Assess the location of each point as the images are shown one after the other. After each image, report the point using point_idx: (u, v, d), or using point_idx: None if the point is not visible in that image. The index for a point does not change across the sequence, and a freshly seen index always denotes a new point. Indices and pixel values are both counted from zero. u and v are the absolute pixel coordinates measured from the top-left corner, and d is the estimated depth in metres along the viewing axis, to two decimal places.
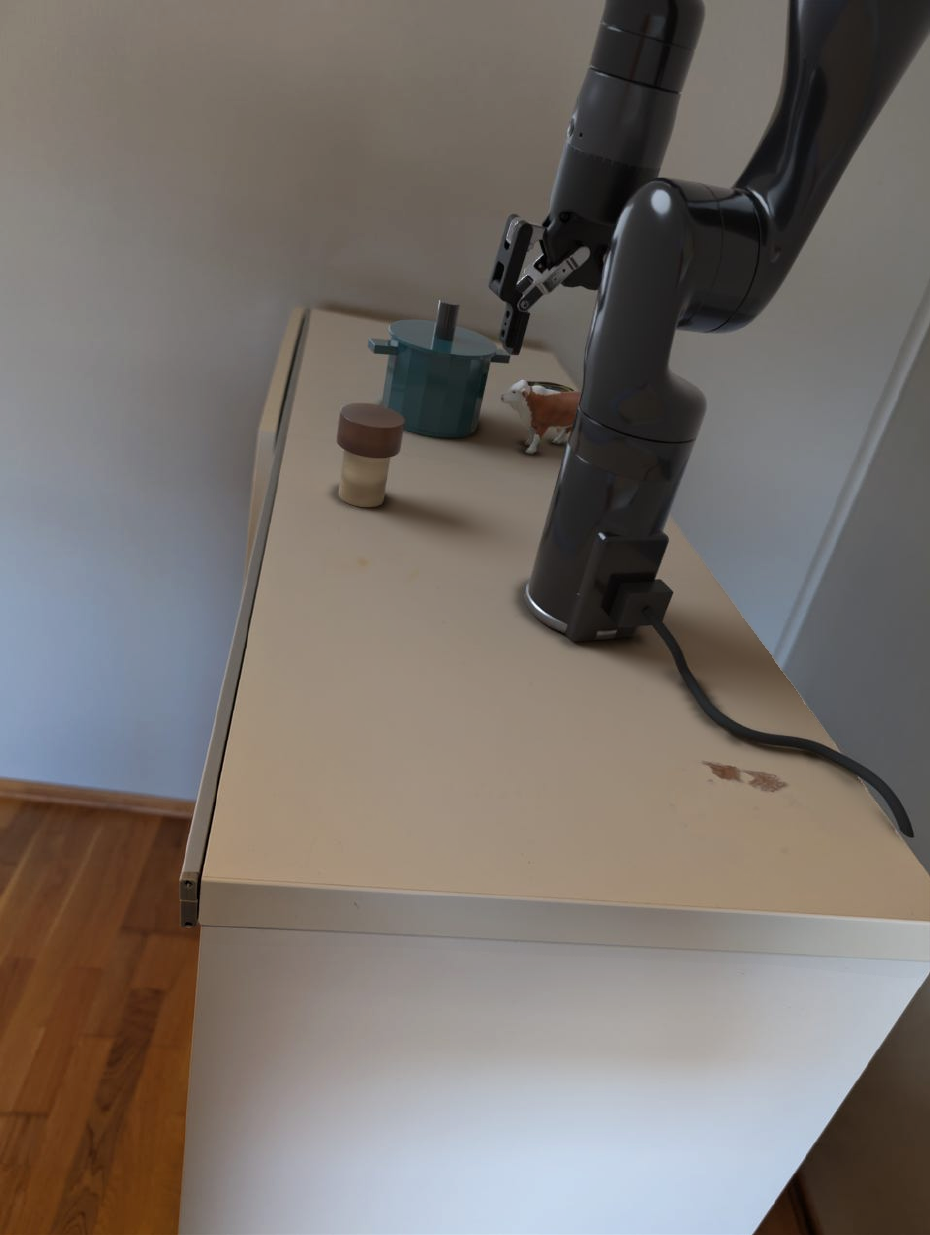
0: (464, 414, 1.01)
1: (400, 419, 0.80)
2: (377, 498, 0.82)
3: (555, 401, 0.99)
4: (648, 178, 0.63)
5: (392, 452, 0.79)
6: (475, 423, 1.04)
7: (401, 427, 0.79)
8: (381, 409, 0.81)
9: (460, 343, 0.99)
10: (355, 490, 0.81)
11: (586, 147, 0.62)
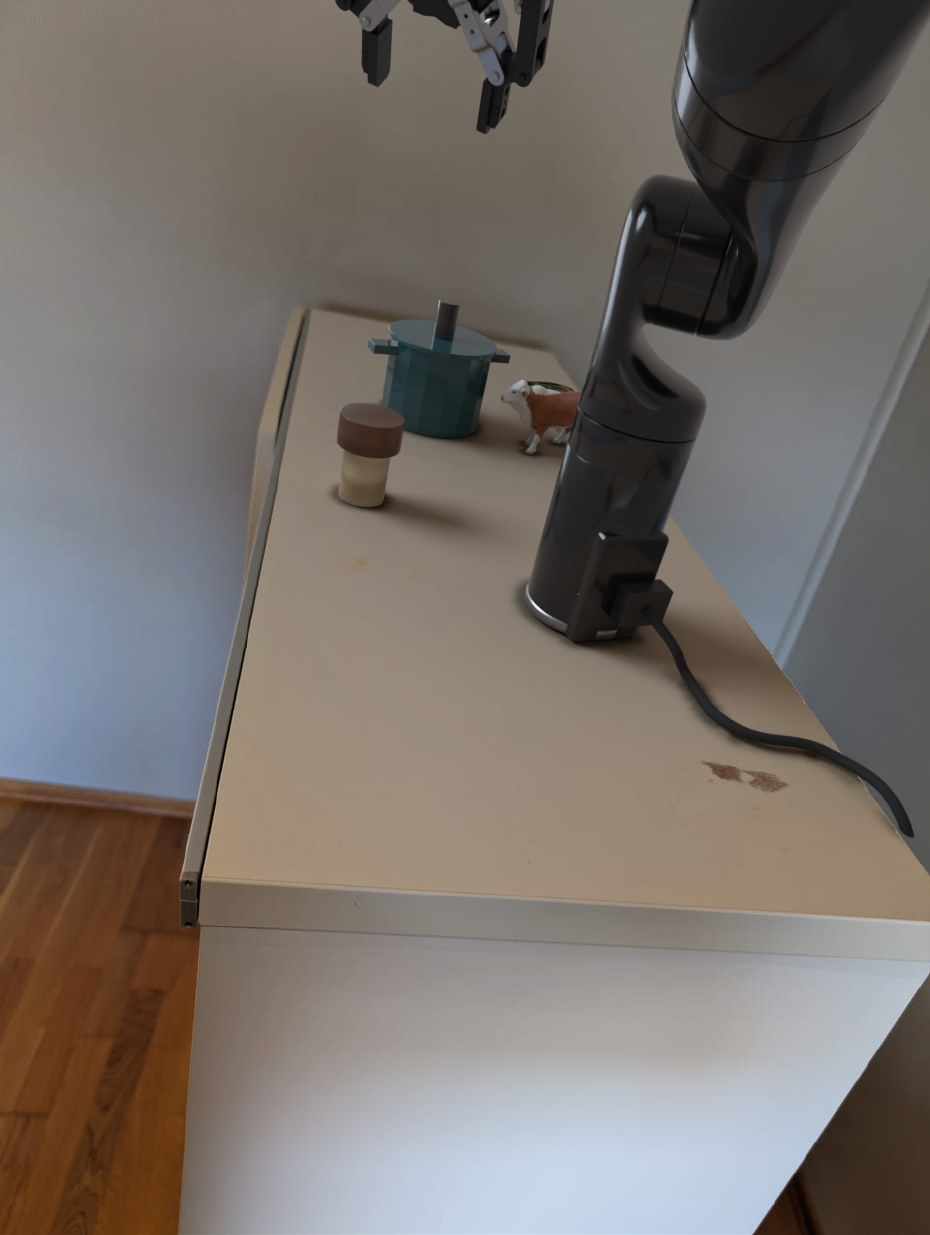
0: (464, 414, 1.01)
1: (400, 419, 0.80)
2: (377, 498, 0.82)
3: (555, 401, 0.99)
4: None
5: (392, 452, 0.79)
6: (475, 423, 1.04)
7: (401, 427, 0.79)
8: (381, 409, 0.81)
9: (460, 343, 0.99)
10: (355, 490, 0.81)
11: None
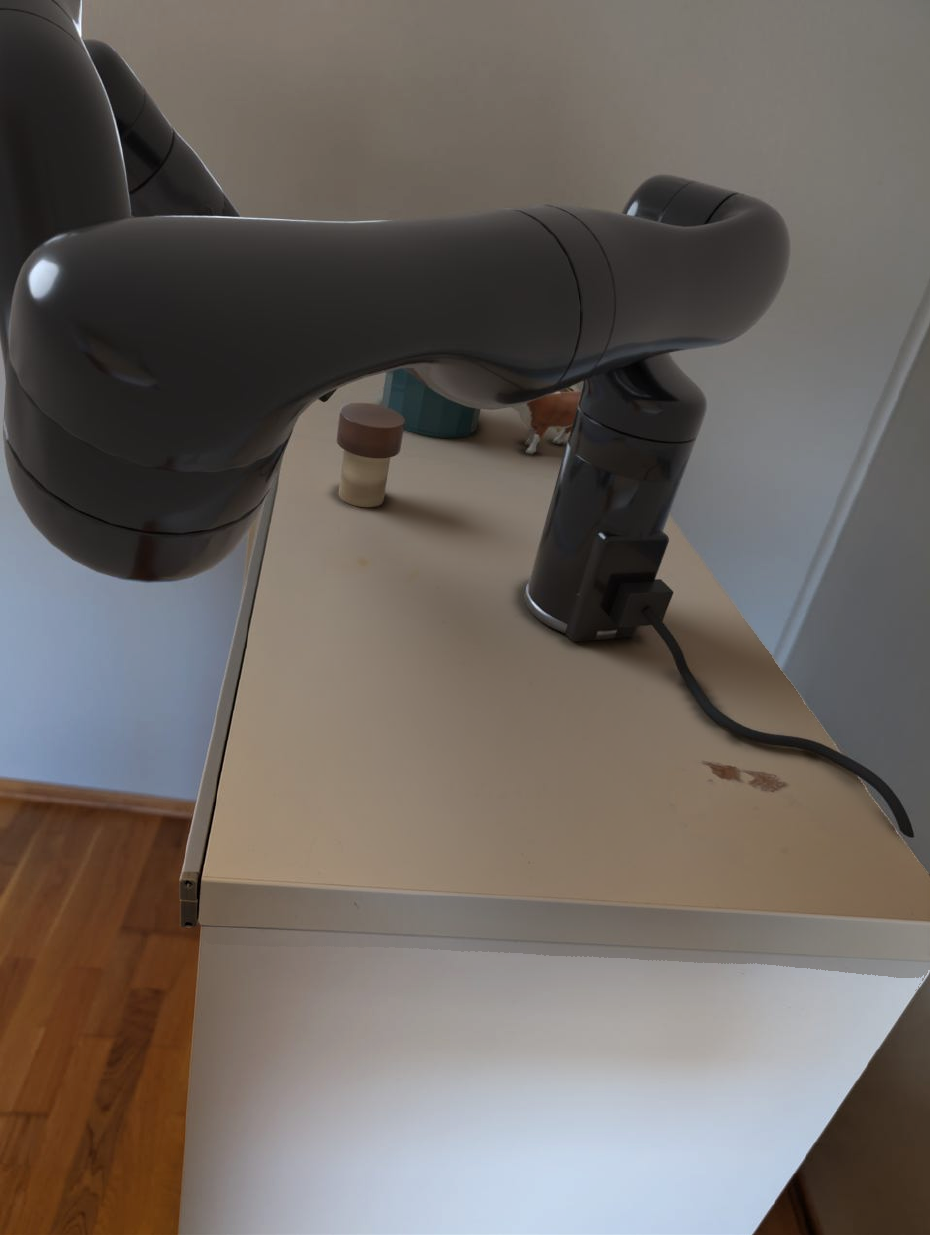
0: (464, 414, 1.01)
1: (400, 419, 0.80)
2: (377, 498, 0.82)
3: (555, 401, 0.99)
4: None
5: (392, 452, 0.79)
6: (475, 423, 1.04)
7: (401, 427, 0.79)
8: (381, 409, 0.81)
9: None
10: (355, 490, 0.81)
11: None
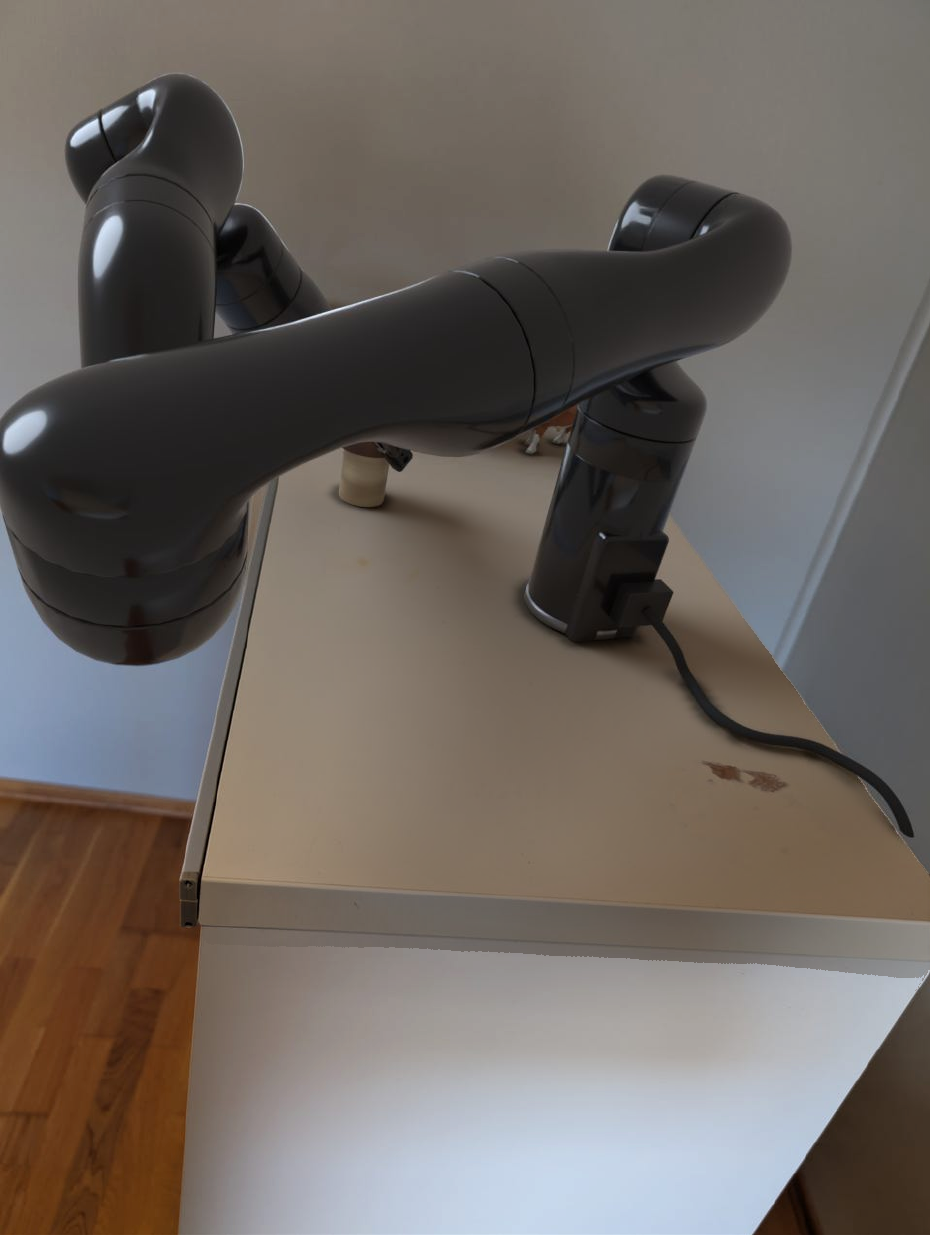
0: None
1: None
2: (377, 498, 0.82)
3: None
4: None
5: None
6: None
7: None
8: None
9: None
10: (355, 490, 0.81)
11: None
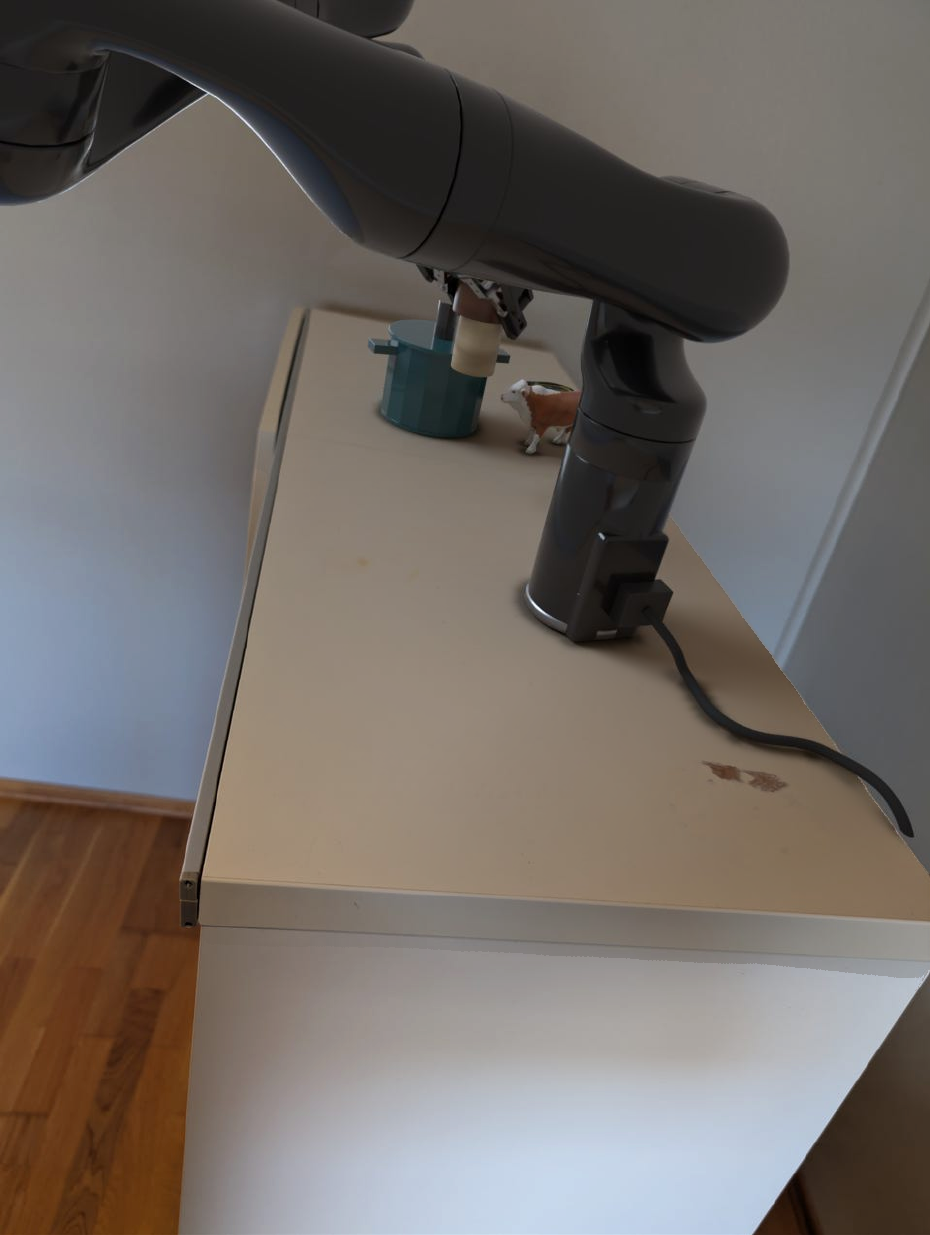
0: (464, 414, 1.01)
1: None
2: (489, 368, 0.85)
3: (555, 401, 0.99)
4: None
5: None
6: (475, 423, 1.04)
7: None
8: None
9: None
10: (470, 359, 0.84)
11: None
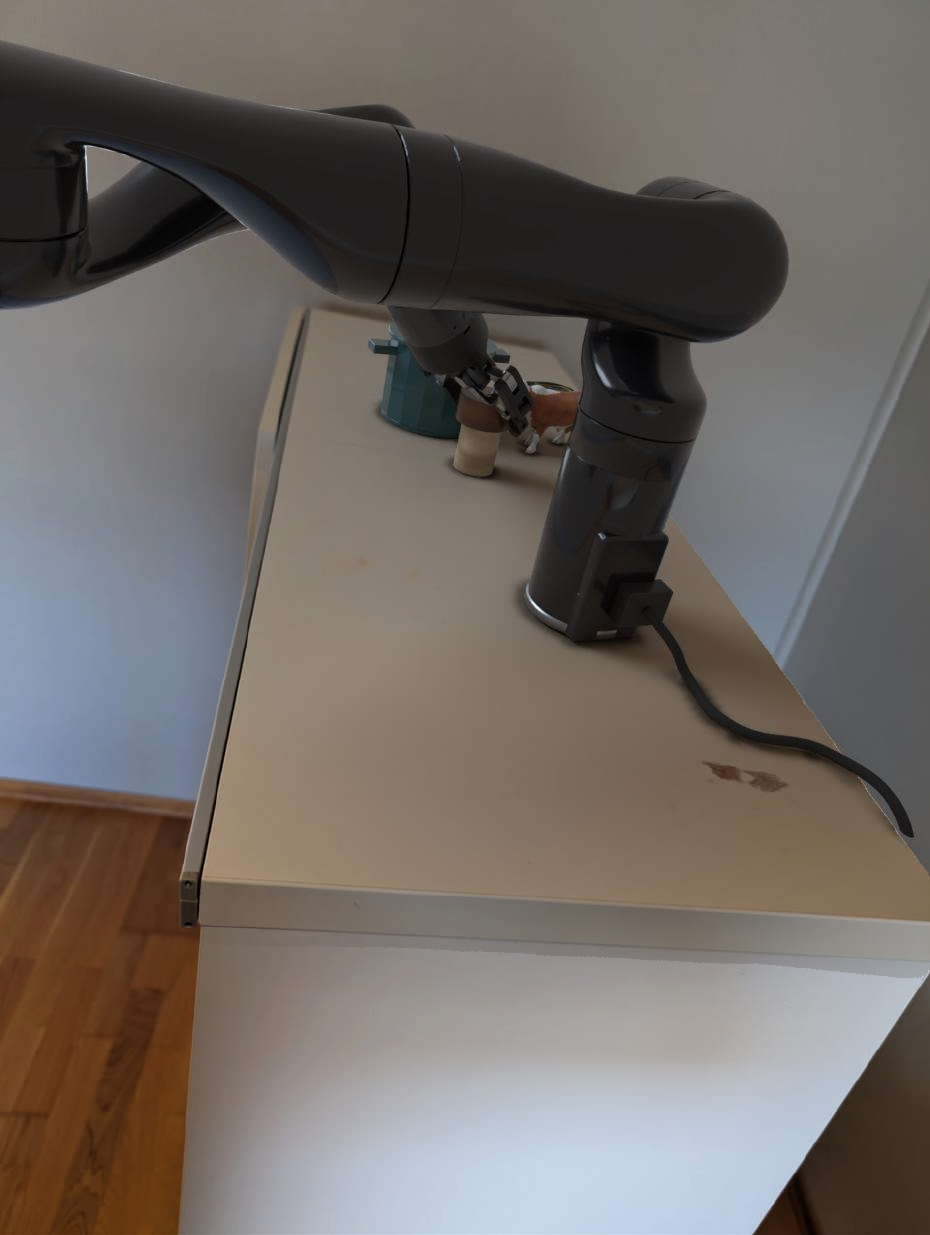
0: None
1: None
2: (489, 468, 0.94)
3: (555, 401, 0.99)
4: (426, 352, 0.79)
5: (505, 427, 0.91)
6: None
7: None
8: None
9: None
10: (471, 461, 0.92)
11: None
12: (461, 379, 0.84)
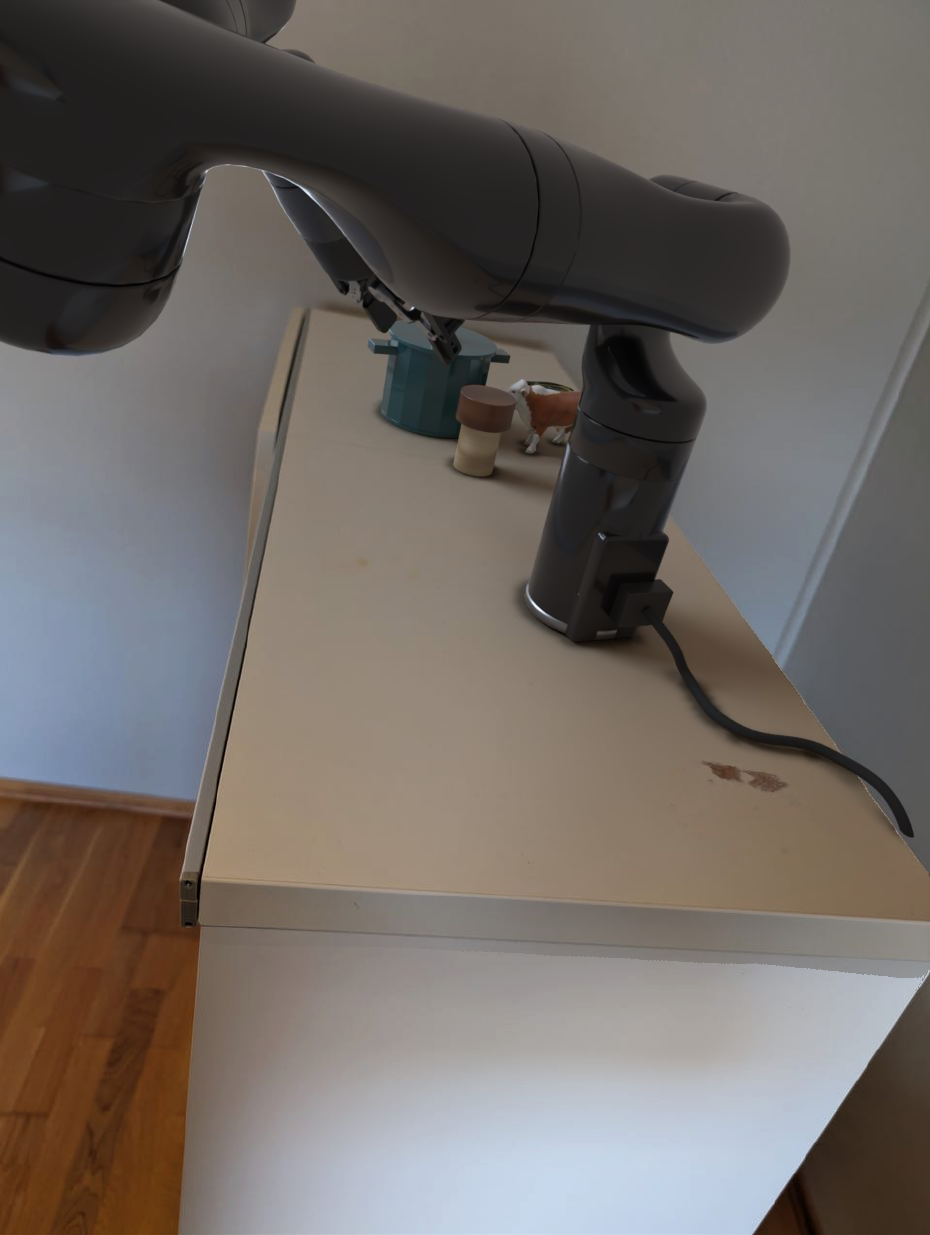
0: None
1: (512, 398, 0.91)
2: (489, 468, 0.94)
3: (555, 401, 0.99)
4: (326, 249, 0.65)
5: (505, 427, 0.91)
6: None
7: (514, 405, 0.90)
8: (493, 390, 0.92)
9: (460, 343, 0.99)
10: (471, 461, 0.92)
11: None
12: (375, 288, 0.70)
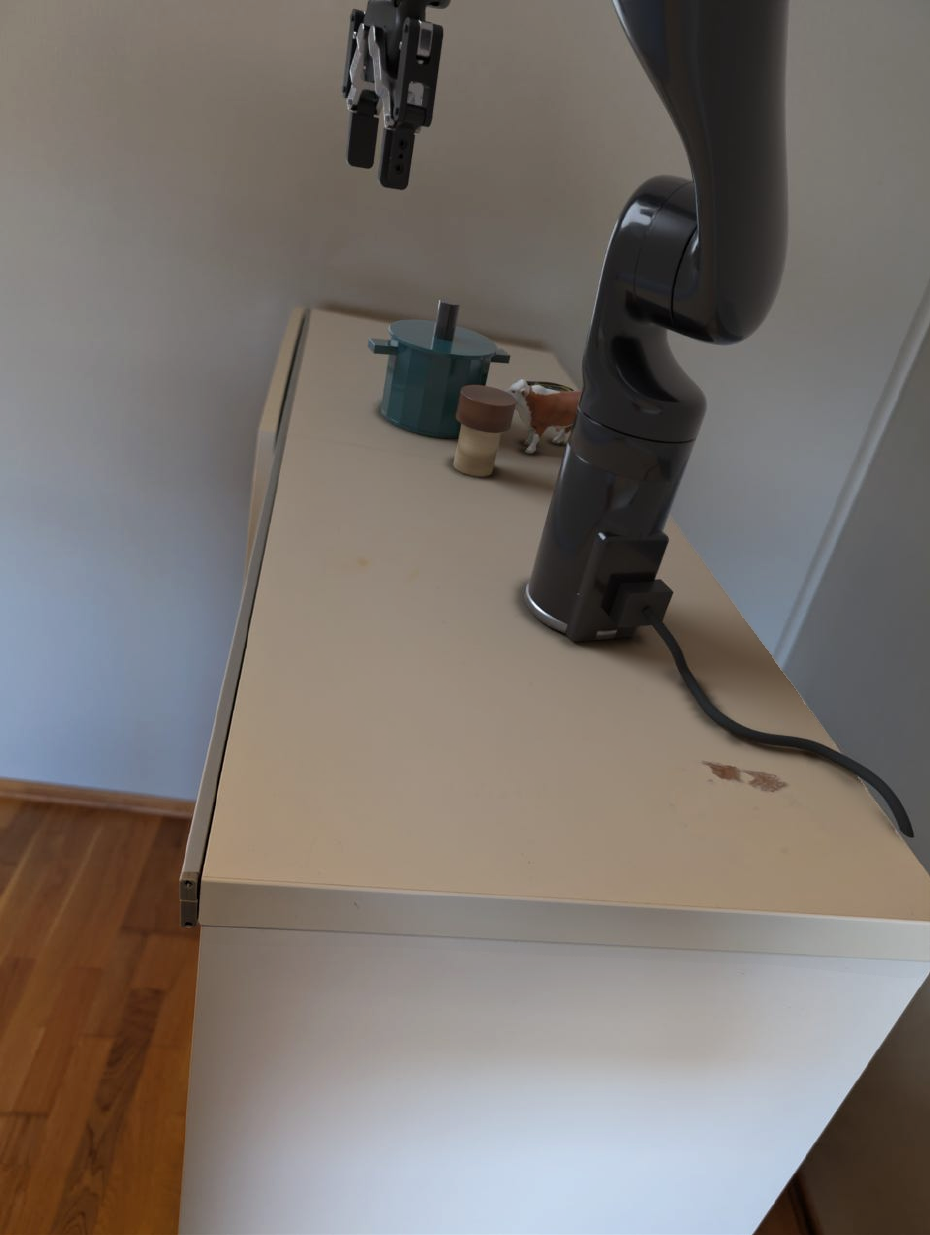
0: None
1: (512, 398, 0.91)
2: (489, 468, 0.94)
3: (555, 401, 0.99)
4: None
5: (505, 427, 0.91)
6: None
7: (514, 405, 0.90)
8: (493, 390, 0.92)
9: (460, 343, 0.99)
10: (471, 461, 0.92)
11: None
12: (375, 28, 0.60)
